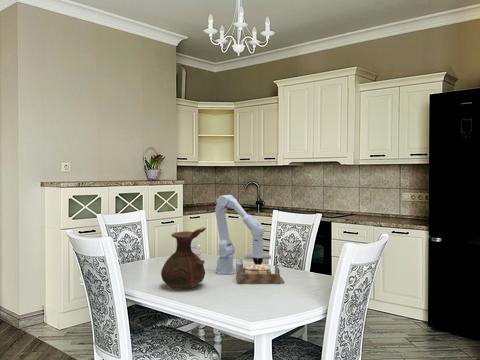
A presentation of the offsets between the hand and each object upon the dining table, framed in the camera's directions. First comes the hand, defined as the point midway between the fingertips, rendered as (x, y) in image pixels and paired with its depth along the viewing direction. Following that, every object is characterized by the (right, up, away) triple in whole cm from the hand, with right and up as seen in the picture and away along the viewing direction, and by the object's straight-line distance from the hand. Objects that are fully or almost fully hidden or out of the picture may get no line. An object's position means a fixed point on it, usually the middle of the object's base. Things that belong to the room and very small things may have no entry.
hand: (257, 271), depth 248 cm
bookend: (+11, -2, -10) cm, 15 cm away
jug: (-38, -3, -23) cm, 45 cm away
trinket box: (-1, -3, -8) cm, 8 cm away
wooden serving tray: (-1, -2, -11) cm, 11 cm away
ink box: (-39, -2, +32) cm, 50 cm away
